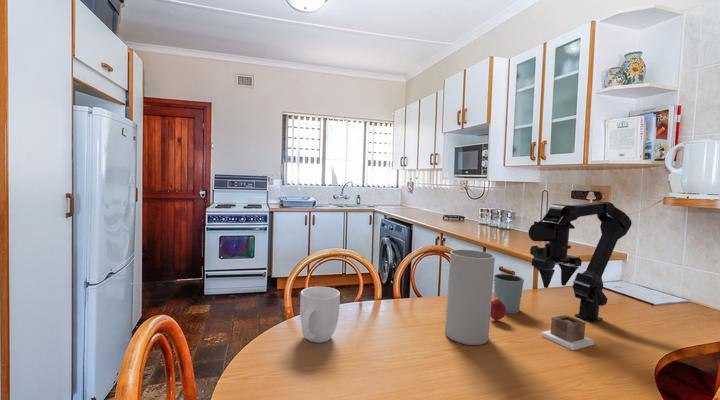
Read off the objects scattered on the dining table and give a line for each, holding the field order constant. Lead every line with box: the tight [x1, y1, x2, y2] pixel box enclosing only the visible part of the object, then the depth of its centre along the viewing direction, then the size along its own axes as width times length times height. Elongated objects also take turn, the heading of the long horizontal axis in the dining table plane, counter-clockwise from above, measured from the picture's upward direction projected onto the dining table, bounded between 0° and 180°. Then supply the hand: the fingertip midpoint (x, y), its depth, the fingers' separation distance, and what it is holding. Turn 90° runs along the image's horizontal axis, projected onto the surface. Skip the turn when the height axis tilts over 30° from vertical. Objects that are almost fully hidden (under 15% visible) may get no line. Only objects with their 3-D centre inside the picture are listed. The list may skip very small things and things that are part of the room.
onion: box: [490, 297, 507, 322], centre depth 123 cm, size 6×6×8 cm
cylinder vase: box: [444, 249, 496, 346], centre depth 108 cm, size 12×12×25 cm
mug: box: [299, 286, 341, 343], centre depth 101 cm, size 15×11×13 cm
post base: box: [540, 320, 595, 351], centre depth 110 cm, size 10×10×6 cm
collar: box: [550, 314, 586, 342], centre depth 110 cm, size 6×6×5 cm
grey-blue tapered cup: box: [493, 273, 525, 314], centre depth 135 cm, size 10×10×12 cm
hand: (554, 286), depth 125 cm, fingers open, 9 cm apart
